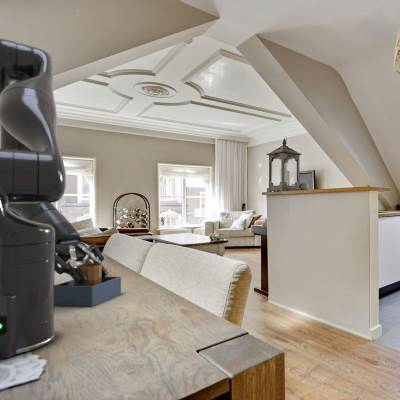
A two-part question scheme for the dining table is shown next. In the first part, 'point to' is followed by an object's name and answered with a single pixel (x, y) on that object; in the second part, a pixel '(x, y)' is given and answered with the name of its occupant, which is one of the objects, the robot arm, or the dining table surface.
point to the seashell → (109, 272)
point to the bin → (86, 292)
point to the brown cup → (91, 273)
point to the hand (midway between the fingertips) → (94, 279)
